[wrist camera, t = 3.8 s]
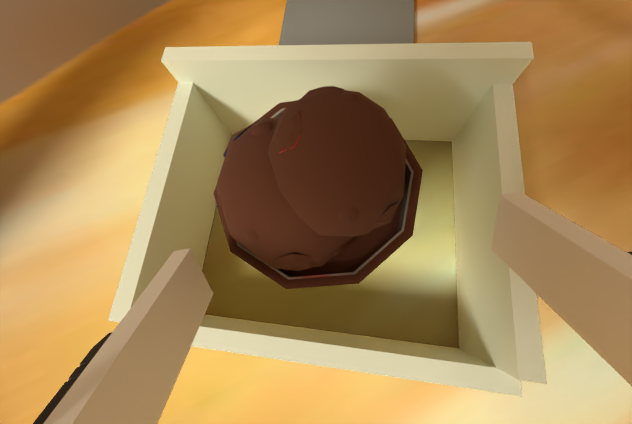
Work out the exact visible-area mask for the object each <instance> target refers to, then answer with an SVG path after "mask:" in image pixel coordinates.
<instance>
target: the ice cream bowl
mask: <svg viewBox="0 0 632 424" xmlns="http://www.w3.org/2000/svg"><path fill="white" fill-rule="evenodd" d="M223 156H224V157H225V159H224V162H223V165H222V168H221V171H220V175H219V178H218V181H217V185H216V188H215V190H214V193H213V194H214V197H215V200H216V204H217V207H218V211H219V214H220V217H221V221H222V224H223V227H224V231H225V234H226V237H227V241H228V244H229V247H230V251H231V252H232V253H234V254H235V255H237V256H238V257H240V258H241V259H243V260H244V261H246V262H247V263H248V264H250V265H251V266H253V267H254V268H256V269H257V270H259V271H260V272H262V273H263V274H265V275H266V276H268V277H269V278H271V279H272V280H274V281H275V282H277V283H278V284H280V285H281V286H283V287H284V288H285V289H292V288H305V287H319V286H332V285H345V284H359V283H360V282H361V281H362V280H363V279H364V278H365V277H367V276H368V275H369V274H370V273H371V272H372V271H373V270H374V269H375V268H377V267H378V266H379V265H380V264H381V263H382V262H383V261H384V260H386V259H387V258H388V257H389V256H390V255H391V254H392V253H393V252H394V251H396V250H397V249H398V248H399V247H400V246H401V245H402V244H403V243H404V242H406V241H407V240H408V239H409V238H410V237H411V236H412V235H413V229H414V222H415V216H416V209H417V203H418V196H419V190H420V184H421V177H422V171H423V170H422V169H421V167H420V165H419V164H418V162H417V160H416V159H415V157H414V155H413V154H412V152H411V150H410V149H409V147H408V145H407V144H406V142H405V140H404V138H403V137H402V135H401V133H400V132H399V130H398V128H397V127H396V125H395V123H394V122H393V120H392V118H390V117H389V116H388V114H387V112H386V111H385V109H384V108H383V107H381V106H380V105H378V104H377V103H375V102H373V101H372V100H370V99H369V98H367V97H366V96H364V95H363V94H361V93H360V92H354V91H347V90H345V89H342V88H338V87H335V86H326V87H320V88H316V89H313V90H310V91H308V92H307V93H306V94H305V95H304V96H303V97H302V98H301V99H299V100H296V101H289V102H282V103H279V104H277V105H276V106H275V107H273V108H272V109H271V110H270V111H268V112H267V113H266V114H264V115H263V116H262V117H261V118H259V119H258V120H257V121H255V122H254V123H253V124H251V125H250V126H248V127H246V128H244V129H243V130H241V131H239V132H237V133H235V134H234V135H232V137H231V139H230V141H229V143H228V145H227V148H226V150H225V152H224V154H223Z"/></svg>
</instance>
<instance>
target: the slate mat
mask: <svg viewBox="0 0 632 424" xmlns="http://www.w3.org/2000/svg"><path fill="white" fill-rule="evenodd" d="M405 43H414V0H287V4H286V9H285V15H284V20H283V26H282V31H281V37H280V42H279V45H340V44H405Z"/></svg>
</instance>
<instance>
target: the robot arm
mask: <svg viewBox="0 0 632 424" xmlns="http://www.w3.org/2000/svg"><path fill="white" fill-rule="evenodd" d="M491 250H492V251H493V252H494V253H495V254H496V255H497V256H498V257H499V258H500V259H502V260H503V261H504V262H505V263H506V264H507V265H508V266H509V267H510V268H511V269H512V270H513V271H514V272H515V273H516V274H517V275H518V276H519V277H520V278H521V279H522V280H523V281H524V282H525V283H526V284H527V285H528V286H529V287H530V288H531V289H532V290H533V291H534V292H535V293H537V294H538V295H539V296H540V297H541V298H542V299H543V300H544V301H545V302H546V303H547V304H548V305H549V306H550V307H551V308H552V309H553V310H554V311H555V312H556V313H557V314H558V315H559V316H560V317H561V318H562V319H563V320H564V321H565V322H566V323H567V324H568V325H569V326H570V327H572V328H573V329H574V330H575V331H576V332H577V333H578V334H579V335H580V336H581V337H582V338H583V339H584V340H585V341H586V342H587V343H588V344H589V345H590V346H591V347H592V348H593V349H594V350H595V351H596V352H597V353H598V354H599V355H600V356H601V357H602V358H603V359H604V360H605V361H606V362H608V363H609V364H610V365H611V366H612V367H613V368H614V369H615V370H616V371H617V372H618V373H619V374H620V375H621V376H622V377H623V378H624V379H625V380H626V381H627V382H628V383H629V384H630V385H631V386H632V252H625V251H624V250H622V249H620V248H618V247H617V246H615V245H613V244H611V243H610V242H608V241H606V240H604V239H602V238H601V237H599V236H597V235H595V234H594V233H592V232H590V231H588V230H587V229H585V228H583V227H581V226H579V225H578V224H576V223H574V222H572V221H571V220H569V219H567V218H565V217H564V216H562V215H560V214H558V213H556V212H555V211H553V210H551V209H549V208H548V207H546V206H544V205H542V204H541V203H539V202H537V201H535V200H534V199H532V198H530V197H528V196H526V195H525V194H523V193H521V192H513V193H507V194H501V195H500V196H499V202H498V209H497V215H496V222H495V228H494V235H493V241H492V248H491ZM212 296H213V292H212V290H211V288H210V286H209V284H208V282H207V280H206V278H205V276H204V274H203V272H202V270H201V268H200V266H199V264H198V262H197V260H196V258H195V256H194V254H193V252H192V250H191V248H189V249H183V250H177V251H174V252H173V253H172V254H171V256H170V257H169V258H168V260H167V261H166V262H165V264H164V265H163V266H162V268H161V269H160V270H159V272H158V273H157V274H156V275H155V277H154V278H153V279H152V281H151V282H150V283H149V285H148V286H147V287H146V289H145V290H144V291H143V293H142V294H141V295H140V297H139V298H138V299H137V301H136V302H135V303H134V305H133V306H132V307H131V308H130V310H129V311H128V312H127V314H126V315H125V316H124V318H123V319H122V320H121V322H120V323H119V324H118V326H117V327H116V328H115V330H114V331H113V332H112V333H109V334H107V335H106V336H105V337H104V338H103V339H102V340H101V341H100V342H98V343H97V344H96V345H95V346H94V347H93V348H92V349H91V350H90V352H89V353H88V354H87V356H86V357H85V358H84V359H83V361H82V362H81V363H80V367H77V368H76V369H75V371H74V372H73V373H72V375H71V376H70V377H69V381H68V382H65V383H64V385H63V386H62V387H61V389H60V390H59V391H58V392H57V394H56V395H55V396H54V397H53V399H52V400H51V401H50V403H49V404H48V405H47V406H46V408H45V409H44V410H43V411H42V413H41V414H40V415H39V417H38V418H37V419H36V420H35V422H34V423H33V424H158V421H159V419H160V417H161V414H162V412H163V410H164V407H165V405H166V403H167V400H168V398H169V396H170V394H171V391H172V389H173V387H174V384H175V382H176V380H177V377H178V375H179V373H180V370H181V368H182V366H183V363H184V361H185V359H186V356H187V354H188V352H189V350H190V347H191V345H192V343H193V340H194V338H195V336H196V333H197V331H198V329H199V326H200V324H201V322H202V319H203V317H204V315H205V313H206V310H207V308H208V306H209V303H210V301H211V299H212Z"/></svg>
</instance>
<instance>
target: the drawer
mask: <svg viewBox="0 0 632 424" xmlns="http://www.w3.org/2000/svg"><path fill="white" fill-rule="evenodd" d="M533 59H534V54H533V47H532V42H470V43H405V44H340V45H275V46H210V47H165V50H164V53H163V56H162V59H161V62H162V63H163V64H164V65H165V67H166V68H167V69H168V70H169V71H170V73H171V74H172V75H173V76H174V78H175V79H176V80H177V81H178V82H179V83H178V86H177V90H176V93H175V96H174V100H173V103H172V106H171V110H170V113H169V117H168V120H167V123H166V127H165V130H164V133H163V137H162V140H161V144H160V147H159V150H158V154H157V157H156V160H155V164H154V167H153V171H152V174H151V177H150V181H149V184H148V188H147V191H146V194H145V198H144V201H143V204H142V208H141V211H140V215H139V218H138V221H137V225H136V228H135V231H134V235H133V238H132V242H131V245H130V248H129V252H128V255H127V258H126V262H125V265H124V269H123V272H122V275H121V279H120V282H119V285H118V289H117V292H116V296H115V299H114V302H113V306H112V309H111V312H110V316H109V319H108V321H115V322H121V320H122V319H123V318H124V316H125V315H126V314H127V312H128V311H129V310H130V308H131V307H132V306H133V305H134V303H135V302H136V301H137V299H138V298H139V297H140V295H141V294H142V293H143V291H144V290H145V289H146V287H147V286H148V285H149V283H150V282H151V281H152V279H153V278H154V277H155V275H156V274H157V273H158V272H159V270H160V269H161V268H162V266H163V265H164V264H165V262H166V261H167V260H168V258H169V257H170V256H171V254H172V253H173V252H174V251H177V250H183V249H189V248H191V250H192V252H193V254H194V256H195V258H196V260H197V262H198V264H199V266H200V268H201V270H202V269H203V264H204V259H205V255H206V250H207V246H208V241H209V236H210V232H211V227H212V223H213V218H214V213H215V209H216V200H215V197H214V194H213V193H214V190H215V188H216V185H217V181H218V178H219V175H220V171H221V168H222V165H223V162H224V159H225V157H224V156H223V154H224V152H225V150H226V148H227V145H228V143H229V141H230V139H231V135H232V134H235V133H237V132H239V131H241V130H243V129H244V128H246V127H248V126H250V125H251V124H253V123H254V122H255V121H257V120H258V119H259V118H261V117H262V116H263V115H264V114H266V113H267V112H268V111H270V110H271V109H272V108H273V107H275V106H276V105H277V104H279V103H282V102H289V101H296V100H299V99H301V98H302V97H303V96H304V95H305V94H306V93H307V92H308V91H310V90H313V89H316V88H320V87H326V86H335V87H338V88H342V89H345V90H347V91H354V92H360V93H361V94H363V95H364V96H366V97H367V98H369V99H370V100H372V101H373V102H375V103H377V104H378V105H380V106H381V107H383V108H384V109H385V111H386V112H387V114H388V116H389V117H390V118H392V120H393V122H394V123H395V125H396V127H397V128H398V130H399V132H400V133H401V135H402V137H403V138H404V140H419V141H449V142H452V162H453V190H454V218H455V246H456V275H457V303H458V331H459V348H453V347H446V346H438V345H431V344H423V343H416V342H408V341H401V340H393V339H386V338H378V337H371V336H363V335H356V334H348V333H341V332H333V331H326V330H318V329H311V328H303V327H296V326H288V325H281V324H273V323H266V322H258V321H251V320H243V319H236V318H228V317H221V316H213V315H206V314H205V315H204V317H203V319H202V322H201V324H200V326H199V329H198V331H197V333H196V336H195V338H194V340H193V343H192V345H191V346H193V347H200V348H206V349H213V350H219V351H226V352H233V353H239V354H246V355H252V356H259V357H265V358H272V359H279V360H285V361H292V362H298V363H305V364H311V365H318V366H325V367H331V368H338V369H344V370H351V371H357V372H364V373H371V374H377V375H384V376H390V377H397V378H403V379H410V380H417V381H423V382H430V383H436V384H443V385H449V386H456V387H463V388H469V389H476V390H482V391H489V392H495V393H502V394H509V395H515V396H522V387H521V380H523V381H530V382H537V383H544V384H547V382H546V373H545V364H544V355H543V346H542V337H541V329H540V320H539V311H538V302H537V293H535V292H534V291H533V290H532V289H531V288H530V287H529V286H528V285H527V284H526V283H525V282H524V281H523V280H522V279H521V278H520V277H519V276H518V275H517V274H516V273H515V272H514V271H513V270H512V269H511V268H510V267H509V266H508V265H507V264H506V263H505V262H504V261H503V260H502V259H500V258H499V257H498V256H497V255H496V254H495V253H494V252H493V251H492V250H491V248H492V241H493V235H494V228H495V222H496V215H497V209H498V202H499V196H500V195H501V194H507V193H513V192H521V193H523V194H525V187H524V178H523V169H522V160H521V151H520V142H519V133H518V124H517V116H516V107H515V98H514V89H513V83H514V82H515V81H516V80H517V79H518V77H519V76H520V75H521V74H522V72H523V71H524V70H525V69H526V67H527V66H528V65H529V64H530V62H531V61H532V60H533Z"/></svg>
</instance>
